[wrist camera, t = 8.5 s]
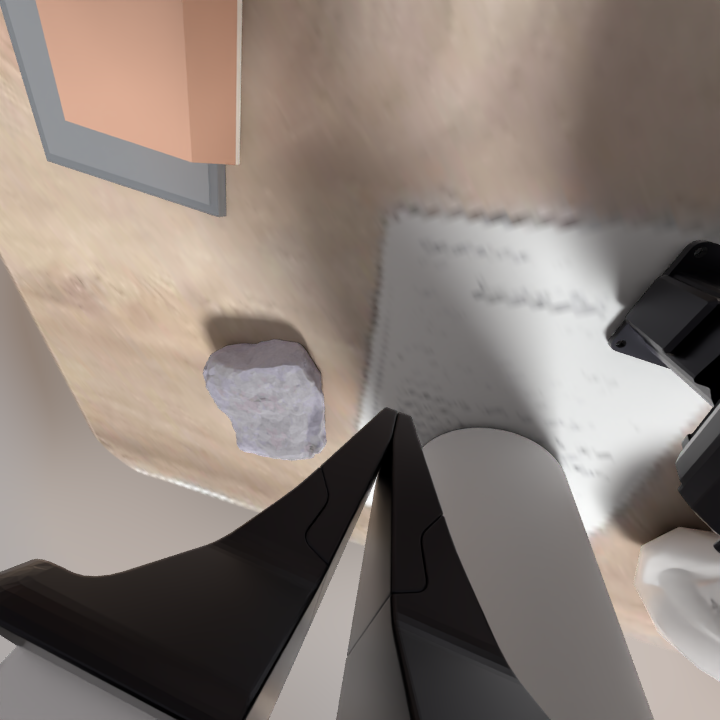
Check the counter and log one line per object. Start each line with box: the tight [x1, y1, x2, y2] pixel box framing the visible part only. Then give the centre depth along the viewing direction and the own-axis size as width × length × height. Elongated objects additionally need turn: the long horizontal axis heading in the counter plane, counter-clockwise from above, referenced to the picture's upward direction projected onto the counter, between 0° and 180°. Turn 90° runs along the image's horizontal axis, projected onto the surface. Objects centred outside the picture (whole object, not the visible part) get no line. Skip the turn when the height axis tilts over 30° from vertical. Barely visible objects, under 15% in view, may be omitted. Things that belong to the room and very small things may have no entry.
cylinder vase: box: [422, 428, 654, 720], centre depth 17 cm, size 12×12×25 cm
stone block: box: [203, 339, 327, 460], centre depth 28 cm, size 12×5×10 cm
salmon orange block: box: [35, 0, 242, 165], centre depth 14 cm, size 4×9×8 cm
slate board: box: [0, 0, 226, 217], centre depth 17 cm, size 14×16×1 cm
